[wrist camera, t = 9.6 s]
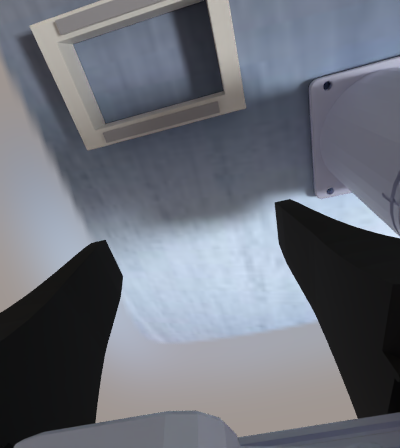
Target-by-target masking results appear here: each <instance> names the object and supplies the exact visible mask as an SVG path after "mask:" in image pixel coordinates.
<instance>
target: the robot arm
mask: <svg viewBox="0 0 400 448" xmlns="http://www.w3.org/2000/svg"><path fill="white" fill-rule="evenodd" d="M326 81H329V82H330V86H329V88H328V89H326V90H324V88H323V85H324V83H325V82H326ZM309 105H310V122H311V140H312V158H313V176H314V193H315V195H316V196H317V197H318V198H319V199H324V198H329V197H334V196H339V195H343V194H348V193H353V194H355V195H356V196H357V197H358V198H359V199H360V200H361V201H362V202H363V203H364V204H365V205H366V206H367V207H369V208H370V209H371V210H372V211H373V212H374V213H375V214H376V215H377V216H378V217H379V218H380V219H381V220H383V221H384V222H385V223H386V224H387V225H388V226H389V227H390V228H391V229H392V230H393V231H394V232H396V233H397V234H398V235H399V236H400V56H398V57H394V58H390V59H387V60H383V61H379V62H376V63H372V64H368V65H365V66H361V67H357V68H354V69H350V70H346V71H343V72H339V73H335V74H332V75H328V76H324V77H321V78H317V79H315V80H313V81H312V82H311V84H310V86H309ZM329 188H332V190H331V191H330V192H327V190H328V189H329ZM275 210H276V220H277V230H278V239H279V245H280V248H281V250H282V253H283V255H284V258H285V260H286V263H287V265H288V266H289V268H290V270H291V272H292V274H293V275H294V277H295V279H296V281H297V282H298V284H299V286H300V288H301V289H302V291H303V293H304V295H305V296H306V298H307V300H308V302H309V303H310V305H311V307H312V309H313V311H314V313H315V315H316V317H317V319H318V321H319V324H320V326H321V328H322V331H323V333H324V335H325V337H326V340H327V342H328V344H329V347H330V349H331V352H332V354H333V356H334V359H335V361H336V363H337V366H338V369H339V371H340V374H341V376H342V379H343V381H344V384H345V386H346V389H347V391H348V394H349V396H350V399H351V401H352V404H353V407H354V409H355V412H356V415H357V417H358V419H353V420H347V421H340V422H334V423H328V424H322V425H315V426H308V427H302V428H297V429H290V430H283V431H276V432H270V433H264V434H257V435H251V436H244V437H237V435H236V434H235V433H234V431H232V430H231V428H230V427H229V426H228V425H227V424H225V422H224V421H222V420H221V419H220V418H219V417H216V416H212V415H209V414H206V413H202V412H199V411H166V412H160V413H154V414H148V415H143V416H136V417H130V418H124V419H118V420H113V421H106V422H100V423H95V420H96V411H97V402H98V395H99V388H100V381H101V374H102V369H103V363H104V356H105V352H106V348H107V344H108V340H109V337H110V333H111V330H112V326H113V323H114V319H115V315H116V312H117V308H118V305H119V301H120V297H121V290H122V281H123V275H122V273H121V271H120V269H119V267H118V265H117V263H116V261H115V259H114V257H113V255H112V252H111V250H110V248H109V246H108V244H107V242H106V240H103V241H98V242H94V243H91V244H90V245H88V246H87V247H85V248H84V249H83V250H82V251H80V252H79V253H78V254H77V255H75V256H74V257H73V258H72V259H71V260H70V261H68V262H67V263H66V264H65V265H64V266H63V267H61V268H60V269H59V270H58V271H57V272H55V273H54V274H53V275H52V276H50V277H49V278H48V279H47V280H46V281H44V282H43V283H42V284H41V285H39V286H38V287H37V288H36V289H34V290H33V291H32V292H30V293H29V294H28V295H26V296H25V297H23V298H22V299H21V300H19V301H18V302H16V303H15V304H13V305H12V306H11V307H9V308H7V309H6V310H4V311H3V312H1V313H0V448H400V238H395V237H390V236H386V235H382V234H378V233H374V232H371V231H367V230H364V229H360V228H357V227H354V226H351V225H348V224H346V223H343V222H340V221H338V220H335V219H333V218H330V217H328V216H325V215H323V214H321V213H319V212H317V211H314V210H312V209H310V208H308V207H306V206H304V205H302V204H300V203H298V202H295V201H293V200H291V199H289V200H284V201H280V202H275Z"/></svg>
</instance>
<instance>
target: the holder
mask: <svg viewBox="0 0 400 448" xmlns="http://www.w3.org/2000/svg"><path fill="white" fill-rule="evenodd" d="M201 1H204V0H101V1H98V2H96V3H93V4H90V5H87V6H84V7H81V8H79V9H76V10H73V11H70V12H67V13H64V14H62V15H59V16H56V17H53V18H50V19H47V20H45V21H42V22H39V23H36V24H33V25H30V28H31V30H32V32H33V35H34V37H35V39H36V41H37V43H38V45H39V47H40V50H41V52H42V54H43V56H44V58H45V60H46V63H47V65H48V67H49V69H50V71H51V73H52V75H53V78H54V80H55V82H56V84H57V86H58V88H59V91H60V93H61V95H62V97H63V99H64V101H65V103H66V106H67V108H68V110H69V112H70V114H71V116H72V119H73V121H74V123H75V125H76V127H77V129H78V131H79V134H80V136H81V138H82V140H83V142H84V144H85V146H86V149H87V151H88V150H92V149H96V148H100V147H103V146H107V145H111V144H115V143H118V142H122V141H126V140H130V139H133V138H137V137H141V136H144V135H148V134H152V133H156V132H159V131H163V130H167V129H171V128H174V127H178V126H182V125H186V124H189V123H193V122H197V121H201V120H204V119H208V118H212V117H216V116H219V115H223V114H227V113H231V112H234V111H238V110H242V109H245V108H246V104H245V98H244V92H243V85H242V79H241V73H240V67H239V61H238V55H237V49H236V43H235V37H234V30H233V24H232V18H231V12H230V6H229V0H206V3H207V8H208V13H209V18H210V23H211V28H212V34H213V39H214V44H215V49H216V54H217V59H218V64H219V69H220V74H221V80H222V85H223V90H224V91H222V92H218V93H215V94H211V95H207V96H204V97H200V98H197V99H193V100H190V101H186V102H182V103H179V104H175V105H172V106H168V107H165V108H161V109H157V110H154V111H150V112H147V113H143V114H140V115H136V116H132V117H129V118H125V119H122V120H118V121H115V122H111V123H107V124H105V121H104V119H103V116H102V114H101V112H100V109H99V107H98V104H97V102H96V99H95V97H94V95H93V92H92V90H91V87H90V85H89V82H88V80H87V78H86V75H85V73H84V70H83V68H82V65H81V63H80V61H79V58H78V56H77V53H76V51H75V48H74V46H73V44H75V43H78V42H81V41H84V40H87V39H90V38H93V37H96V36H99V35H102V34H105V33H108V32H111V31H114V30H117V29H120V28H123V27H126V26H129V25H132V24H135V23H138V22H141V21H144V20H147V19H150V18H153V17H156V16H159V15H162V14H165V13H168V12H171V11H174V10H177V9H180V8H183V7H186V6H189V5H192V4H195V3H198V2H201Z"/></svg>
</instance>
